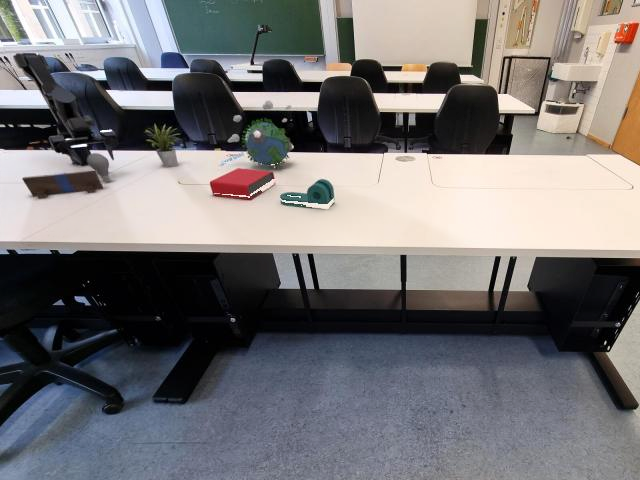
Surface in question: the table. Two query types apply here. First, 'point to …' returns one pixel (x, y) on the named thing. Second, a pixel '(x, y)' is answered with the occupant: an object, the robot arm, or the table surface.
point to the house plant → (164, 146)
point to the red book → (241, 183)
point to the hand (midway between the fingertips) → (98, 161)
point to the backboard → (63, 183)
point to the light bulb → (99, 165)
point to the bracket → (311, 194)
